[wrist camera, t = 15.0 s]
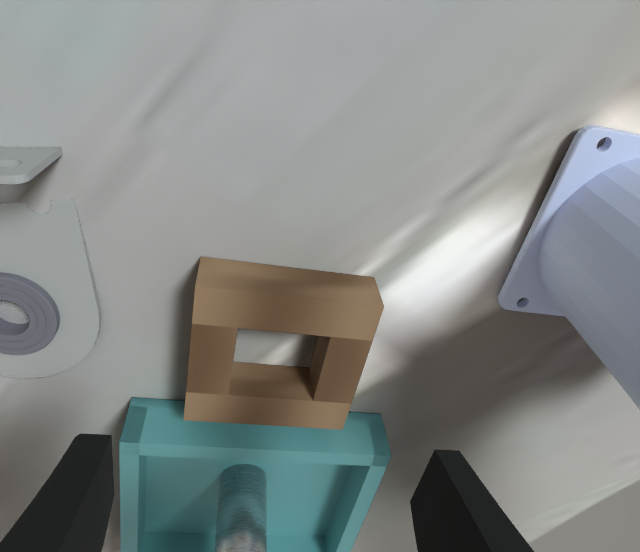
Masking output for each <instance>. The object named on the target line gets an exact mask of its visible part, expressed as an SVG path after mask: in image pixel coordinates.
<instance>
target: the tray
mask: <svg viewBox="0 0 640 552" xmlns="http://www.w3.org/2000/svg"><path fill="white" fill-rule="evenodd" d="M184 409H185V401H180V400H165V399H150V398H135V397H132V399H131V402H130V406H129V409H128V413H127V416H126V420H125V424H124V427H123V431H122V434H121V438H120V441H119V460H120V535H121V552H214V548H215V536H216V523H217V511H218V498H219V486H220V476H221V474H222V472H223V471H224V470H226V469H227V468H229V467H231V466H234V465H238V464H250V465H255V466H257V467H259V468H261V469H262V470H263V471H264V472H265V474H266V494H267V552H350V551H351V549H352V547H353V544H354V542H355V540H356V537H357V535H358V533H359V530H360V528H361V526H362V523H363V521H364V519H365V516H366V514H367V512H368V509H369V507H370V505H371V502H372V500H373V498H374V495H375V493H376V491H377V488H378V486H379V484H380V482H381V479H382V477H383V475H384V472H385V470H386V468H387V465H388V463H389V461H390V458H391V452H390V448H389V444H388V440H387V436H386V432H385V428H384V424H383V420H382V416H381V414H374V413H360V412H348V415H347V418H346V421H345V424H344V427H343V430H338V429H321V428H304V427H288V426H271V425H254V424H237V423H221V422H204V421H187V420H184Z"/></svg>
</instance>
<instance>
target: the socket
mask: <svg viewBox="0 0 640 552" xmlns="http://www.w3.org/2000/svg"><path fill="white" fill-rule="evenodd" d="M383 308H384V305H383V302H382V299H381V296H380V293H379V290H378V287H377V284H376V281H375V278H374V277H367V276H358V275H350V274H342V273H333V272H325V271H317V270H308V269H300V268H292V267H283V266H275V265H266V264H258V263H250V262H241V261H233V260H225V259H216V258H208V257H200V263H199V268H198V273H197V279H196V284H195V293H194V304H193V316H192V328H191V339H190V351H189V362H188V374H187V386H186V397H185V409H184V420H187V421H204V422H221V423H237V424H254V425H271V426H288V427H304V428H321V429H338V430H343V427H344V424H345V421H346V418H347V415H348V412H349V409H350V406H351V404H352V401H353V398H354V395H355V392H356V389H357V386H358V383H359V380H360V377H361V374H362V371H363V368H364V365H365V362H366V359H367V356H368V353H369V350H370V347H371V344H372V341H373V338H374V335H375V332H376V329H377V326H378V323H379V320H380V317H381V314H382V311H383ZM238 328H243V329H253V330H264V331H275V332H285V333H296V334H306V335H317V336H318V337H317V341H316V345H315V349H314V352H313V356H312V360H311V364H310V368H302V367H290V366H278V365H266V364H254V363H241V362H233V358H234V352H235V345H236V338H237V332H238Z"/></svg>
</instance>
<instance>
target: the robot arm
mask: <svg viewBox="0 0 640 552" xmlns="http://www.w3.org/2000/svg"><path fill="white" fill-rule="evenodd" d="M604 137H605V138H606V139H605V142H604V143H603V145H602V146H600V147H598V148H597V144H598V142H599V141H600V140H601V139H603V138H604ZM521 298H524V299H523V300H522V301H520V302H518V300H519V299H521ZM497 300H498V303H499V304H500V306H501V307H502V308H503V309H505V310H511V311H519V312H528V313H537V314H546V315H555V316H564V317H566V318H567V319H568V320H569V322H570V323H571V324H572V325H573V327H574V328H575V329H576V330H577V332H578V333H579V334H580V335H581V337H582V338H583V339H584V340H585V342H586V343H587V344H588V345H589V347H590V348H591V349H592V350H593V352H594V353H595V354H596V355H597V357H598V358H599V359H600V360H601V362H602V363H603V364H604V365H605V367H606V368H607V369H608V370H609V372H610V373H611V374H612V375H613V377H614V378H615V379H616V380H617V382H618V383H619V384H620V385H621V387H622V388H623V389H624V390H625V392H626V393H627V394H628V395H629V397H630V398H631V399H632V400H633V402H634V403H635V404H636V405H637V407H638V408H639V409H640V134H636V133H631V132H626V131H621V130H616V129H611V128H605V127H600V126H595V125H588V126H585V127H583V128H581V129H580V130H579V131H578V132H577V133H576V135H575V136H574V138H573V140H572V142H571V144H570V147H569V149H568V151H567V153H566V155H565V157H564V159H563V161H562V163H561V165H560V167H559V170H558V172H557V174H556V176H555V178H554V180H553V182H552V184H551V186H550V188H549V190H548V193H547V195H546V197H545V199H544V201H543V203H542V205H541V207H540V209H539V211H538V213H537V215H536V218H535V220H534V222H533V224H532V226H531V228H530V230H529V232H528V234H527V236H526V238H525V241H524V243H523V245H522V247H521V249H520V251H519V253H518V255H517V257H516V259H515V261H514V264H513V266H512V268H511V270H510V272H509V274H508V276H507V278H506V280H505V282H504V284H503V287H502V289H501V291H500V293H499V295H498V298H497ZM113 497H114V479H113V458H112V437H111V435H98V434H79V435H78V436H76V437H75V438H74V440H73V441H72V443H71V445H70V446H69V448H68V450H67V451H66V453H65V454H64V456H63V457H62V459H61V460H60V462H59V463H58V465H57V466H56V468H55V469H54V471H53V472H52V474H51V475H50V477H49V478H48V480H47V481H46V482H45V484H44V485H43V487H42V488H41V489H40V491H39V492H38V494H37V495H36V496H35V498H34V499H33V501H32V502H31V503H30V505H29V506H28V507H27V508H26V510H25V511H24V512H23V514H22V515H21V516H20V518H19V519H18V520H17V522H16V523H15V524H14V526H13V527H12V528H11V530H10V531H9V532H8V533H7V535H6V536H5V537H4V539H3V540H2V541H1V542H0V552H101V550H102V547H103V543H104V539H105V535H106V530H107V526H108V521H109V516H110V512H111V507H112V502H113ZM410 504H411V511H412V518H413V525H414V531H415V537H416V543H417V549H418V552H534V551H533V550H532V548H531V547H530V546H529V544H528V543H527V542H526V541H525V539H524V538H523V537H522V535H521V534H520V533H519V531H518V530H517V529H516V528H515V526H514V525H513V524H512V522H511V521H510V520H509V518H508V517H507V516H506V514H505V513H504V512H503V510H502V509H501V508H500V506H499V505H498V504H497V502H496V501H495V499H494V498H493V497H492V495H491V494H490V493H489V491H488V490H487V488H486V487H485V486H484V484H483V483H482V482H481V480H480V479H479V477H478V476H477V475H476V473H475V472H474V471H473V469H472V468H471V466H470V465H469V464H468V462H467V461H466V460H465V458H464V457H463V455H462V454H461V453H460V451H453V450H434V453H433V455H432V457H431V459H430V461H429V463H428V465H427V467H426V469H425V471H424V474H423V476H422V478H421V480H420V482H419V484H418V486H417V488H416V490H415V492H414V495H413V497H412V499H411V501H410Z"/></svg>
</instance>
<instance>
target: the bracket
mask: <svg viewBox="0 0 640 552" xmlns="http://www.w3.org/2000/svg"><path fill="white" fill-rule="evenodd" d="M61 155H62V149H61V147H0V184H21V183H25V182H28V181H30V180H31V179H33V178H34V177H35V176H36V175H38V174H39V173H40V172H41V171H43V170H44V169H45V168H46V167H48V166H49V165H50V164H51V163H53V162H54V161H55V160H56V159H58V158H59V157H60V156H61ZM50 202H51V209H50V211H49V212H48V213H46V214H37V213H35V212H33V211H32V210H30V209H29V207H28V206H27V204H26V202H20V203H3V204H0V300H7V301H11V302H14V303H16V304H18V305H19V306H21V307H22V308H23V309H24V310H25V311H26V313H27V314H28V316H29V320H30V322H29V323H25V324H14V323H10V322H7V321H5V320H3V319H2V318H0V375H2V376H7V377H14V378H40V377H47V376H51V375H55V374H58V373H61V372H63V371H66V370H68V369H70V368H71V367H73V366H75V365H76V364H78V363H79V362H80V361H82V360H83V359H84V358H85V357H86V355H87V354H88V353H89V352H90V350H91V349H92V347H93V346H94V344H95V342H96V339H97V337H98V335H99V330H100V326H101V313H100V306H99V302H98V297H97V292H96V287H95V282H94V278H93V273H92V269H91V265H90V261H89V257H88V253H87V249H86V245H85V241H84V236H83V232H82V228H81V224H80V220H79V216H78V212H77V208H76V204H75V200H74V199H70V200H53V201H50Z"/></svg>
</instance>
